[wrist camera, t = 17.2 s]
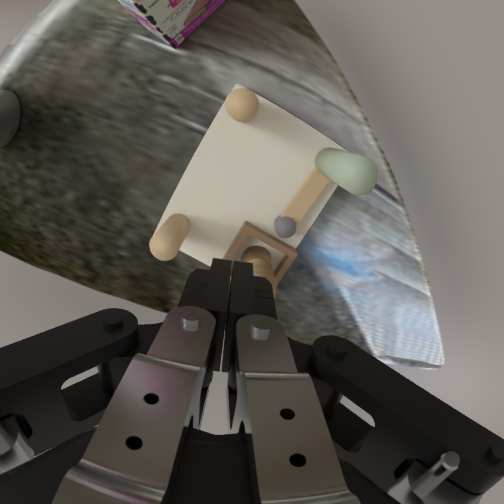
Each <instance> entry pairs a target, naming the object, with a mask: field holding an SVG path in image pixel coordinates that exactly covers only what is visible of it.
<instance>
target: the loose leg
mask: <svg viewBox="0 0 504 504" xmlns="http://www.w3.org/2000/svg"><path fill="white" fill-rule="evenodd" d="M241 261H243V262H251V263H253V274H254V276H260V277H266V278H267V280H268V281H269V282H270V283H271V284H272V288H273V295H274V298H275V295H276V285H275V279H274V273H273V267H272V262H271V256H270V253H269V251H268V250H267V249H266V248H264V247H262V246H258V245H254V246H250V247H248V248H247V249H246V250H245V251H244V252H243V254H242V258H241Z"/></svg>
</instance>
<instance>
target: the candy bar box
mask: <svg viewBox="0 0 504 504" xmlns="http://www.w3.org/2000/svg"><path fill="white" fill-rule="evenodd" d="M117 1H118V2H119V3H120V4H122V5H123V6H124V7H125V8H126V9H127V10H128V11H129V12H130V13H131V14H132V15H133V16H134V17H135V18H136V19H137V20H138V21H139V22H141V23H142V24H143V25H144V26H145V27H146V28H147V29H148V30H149V31H150V32H151V33H153V34H154V35H156V36H157V37H159V38H160V39H162V40H163V41H164V42H166V43H167V44H169V45H170V46H171V47H173V48H174V49H177V48H178V47H179V45H180V44H181V43H182V42H183V41H184V40H185V39H186V38H187V37H188V36H189V35H190V34H191V33H192V32H193V31H194V30H195V29H196V28H197V27H198V26H199V25H200V24H201V23H202V22H203V21H204V20H205V19H206V18H207V17H208V16H210V15H211V14H212V13H213V12H214V11H215V10H216V9H217V8H218V7H219V6H221V5H222V4H223V3H224V2H225V1H226V0H117Z"/></svg>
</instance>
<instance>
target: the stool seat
mask: <svg viewBox="0 0 504 504" xmlns="http://www.w3.org/2000/svg"><path fill="white" fill-rule="evenodd" d="M329 147H330V148H335V149H339V150H343V151H346V150H345V149H344V148H342V147H341V146H339V145H338V144H336V143H335V142H333V141H332V140H330V139H329V138H328V137H326V136H325V135H323V134H322V133H320V132H318V131H317V130H315V129H314V128H312V127H311V126H309V125H308V124H306V123H304V122H303V121H301V120H300V119H298V118H296V117H295V116H293V115H292V114H290V113H288V112H287V111H285V110H283V109H282V108H280V107H278V106H277V105H275V104H273V103H271V102H270V101H268V100H266V99H264V98H263V97H261V96H259V95H257V94H255V93H254V92H252V91H251V90H248V89H246V88H244V87H242V86H241V85H239V84H237V83H236V84H235V86H234V87H233V89H232V91H231V92H230V93H229V95H228V96H227V98H226V100H225V102H224V104H223V105H222V107H221V109H220V110H219V112H218V114H217V115H216V117H215V119H214V120H213V122H212V124H211V126H210V127H209V129H208V131H207V132H206V134H205V136H204V138H203V140H202V141H201V143H200V145H199V147H198V148H197V150H196V152H195V154H194V156H193V158H192V159H191V161H190V163H189V165H188V167H187V169H186V171H185V172H184V174H183V176H182V178H181V180H180V182H179V184H178V186H177V188H176V190H175V192H174V194H173V196H172V198H171V200H170V202H169V204H168V206H167V208H166V210H165V212H164V214H163V216H162V218H161V220H160V222H159V224H158V226H157V229H156V231H155V233H154V235H153V237H152V238H151V240H150V244H149V246H150V251H151V253H152V254H153V255H154V256H155V257H156V258H157V259H159V260H163V261H168V260H171V259H173V258H174V257H175V256H176V255H177V253H178V251H179V250H180V251H182V252H184V253H186V254H188V255H189V256H191V257H193V258H195V259H197V260H199V261H201V262H203V263H205V264H207V265H209V266H210V267H211V264H212V260H213V258H219V259H227V260H232V266H231V276H232V269H233V262H234V260H235V261H241V258H242V254H243V252H244V251H245V250H246V249H247V248H248V247H250V246H254V245H258V246H262V247H264V248H266V249H267V250H268V251H269V253H270V256H271V262H272V267H273V273H274V279H275V285H276V286H277V285H278V283H279V282H280V280H281V279H282V277H283V276H284V274H285V273H286V272H287V270H288V269H289V267H290V266H291V264H292V263H293V261H294V260H295V259H296V257H297V256H298V252H297V249H296V248H297V246H298V245H299V243H300V242H301V240H302V239H303V237H304V236H305V234H306V233H307V231H308V230H309V228H310V227H311V225H312V224H313V222H314V221H315V219H316V218H317V216H318V215H319V213H320V212H321V210H322V209H323V207H324V206H325V204H326V203H327V201H328V199H329V198H330V196H331V195H332V193H333V192H334V190H335V189H336V187H337V186H338V184H336V183H335V182H333V181H331V180H330V181H329V182H328V184H327V185H326V186H325V188H324V189H323V190H322V192H321V193H320V194H319V196H318V197H317V199H316V200H315V201H314V203H313V204H312V205H311V207H310V208H309V209H308V211H307V212H306V213H305V215H304V216H303V217H302V219H301V220H300V221H299V223H298V224H297V226H296V232H295V234H294V235H293V236H292V237H290V238H281V237H279V236H278V235H277V233H276V231H275V230H274V229H273V227H272V226H273V225H274V221H275V219H276V218H277V217H278V216H279V215H281V214H282V212H283V211H284V210H285V208H286V207H287V205H288V204H289V203H290V201H291V200H292V199H293V197H294V196H295V194H296V193H297V192H298V190H299V189H300V187H301V186H302V185H303V183H304V182H305V181H306V179H307V178H308V176H309V175H310V174H311V172H312V171H313V170H314V168H315V167H316V165H315V158H316V156H317V154H318V152H319V151H321V150H322V149H324V148H329ZM347 152H348V151H347ZM231 276H230V282H231Z"/></svg>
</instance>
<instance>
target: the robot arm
mask: <svg viewBox="0 0 504 504" xmlns="http://www.w3.org/2000/svg"><path fill="white" fill-rule="evenodd" d="M19 121H20V104H19V101H18V98H17V96H16V95H15V94H14V93H13V92H12V91H10V90H0V148H1V147H4V146H6V145H7V144H8V143H9V142H10V141H11V140H12V139H13V137H14V135H15V133H16V131H17V128H18V125H19ZM231 266H232V260H227V259H219V258H213V260H212V264H211V268H210V270H205V269H198V268H197V269H196V270H194V271H193V272H192V273H190V274H189V277H188V279H187V283H186V285H185V288H184V290H183V293H182V296H181V299H180V302H179V305H178V307H177V308H175V309H173V310H171V311H170V312H169V313H168V314H167V316H166V318H165V320H164V322H161V323H157V324H146V325H145V324H144V325H138V321H137V318H136V317H135V316H134V315H133V314H132V313H131V312H129V311H127V310H124V309H117V308H110V309H104V310H101V311H98V312H96V313H93V314H90V315H88V316H85V317H82V318H79V319H77V320H74V321H71V322H69V323H66V324H63V325H61V326H58V327H55V328H53V329H50V330H47V331H45V332H42V333H40V334H37V335H34V336H31V337H29V338H26V339H23V340H21V341H18V342H15V343H12V344H10V345H7V346H4V347H2V348H0V504H479V502H480V499H481V497H482V495H483V494H484V493H485V492H486V491H487V490H489V489H490V488H491V487H492V486H494V485H495V484H496V483H497V482H498V481H500V480H501V478H503V477H504V439H502V438H501V437H499V436H498V435H496V434H494V433H492V432H491V431H489V430H488V429H486V428H485V427H483V426H481V425H479V424H478V423H476V422H474V421H473V420H472V419H470V418H468V417H467V416H465V415H463V414H462V413H460V412H459V411H457V410H456V409H454V408H452V407H451V406H449V405H448V404H446V403H445V402H443V401H441V400H440V399H438V398H437V397H435V396H434V395H432V394H430V393H429V392H427V391H426V390H424V389H423V388H421V387H419V386H418V385H416V384H415V383H413V382H412V381H410V380H409V379H407V378H405V377H404V376H402V375H401V374H399V373H398V372H396V371H395V370H393V369H391V368H390V367H389V366H387V365H385V364H384V363H382V362H381V361H379V360H378V359H376V358H375V357H373V356H372V355H370V354H369V353H367V352H366V351H364V350H363V349H361V348H360V347H358V346H357V345H355V344H353V343H352V342H350V341H349V340H347V339H345V338H342V337H338V336H332V335H328V336H322V337H319V338H318V339H316V340H315V341H314V343H313V346H311V345H308V344H304V343H301V342H298V341H295V340H293V339H291V338H289V337H288V336H287V335H286V331H285V328H284V327H283V325H282V324H281V323H280V322H279V321H277V314H276V308H275V301H274V295H273V288H272V284H271V283H270V282H269V281H268V280H267V278H266V277H260V276H254V274H253V263H251V262H243V261H235V260H234V262H233V269H232V276H231ZM230 276H231V284H230ZM229 285H230V292H229ZM228 295H229V299H228ZM227 306H228V308H227ZM226 315H227V317H226ZM225 323H226V328H225ZM224 331H225V340H224V350H223V361H222V372H228V382H227V390H226V399H227V420H228V434H225V435H214V434H210V433H207V432H204V431H201V430H200V428H201V424H202V419H203V415H204V410H205V406H206V401H207V397H208V393H209V385H210V383H211V381H212V377H213V371H220V363H221V353H222V347H223V339H224ZM96 366H97V368H98V372H99V373H97V374H95V375H93V376H90V377H88V378H86V379H84V380H82V381H80V382H77V383H75V384H73V385H71V386H69V387H67V388H65V389H62V390H61V387H62V385H63V383H64V382H65V381H66V380H67V379H69V378H71V377H74V376H76V375H78V374H80V373H82V372H85V371H87V370H89V369H91V368H93V367H96ZM343 395H344V396H346V397H347V398H348V399H349V400H351V401H352V402H353V403H355V404H356V405H357V406H359V407H360V408H362V409H363V410H364V411H366V412H367V413H369V414H370V415H371V416H372V417H373V419H374V422H375V427H372V426H371V425H369V424H368V423H367V422H365V421H364V420H363V419H361V418H360V417H359V416H357V415H356V414H355V413H353V412H352V411H350V410H349V409H348V408H346V407H345V406H344V405H343V404H341V403H340V400H341V398H342V396H343ZM97 425H98V426H97ZM95 426H97V427H95ZM55 446H56V447H55ZM53 447H54V448H53ZM51 448H52V449H51ZM49 449H50V450H49ZM47 450H48V451H47ZM45 451H46V452H45ZM43 452H44V453H43ZM41 453H43V454H41ZM39 454H40V455H39ZM36 455H39V456H37V457H35V458H34V456H36Z"/></svg>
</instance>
